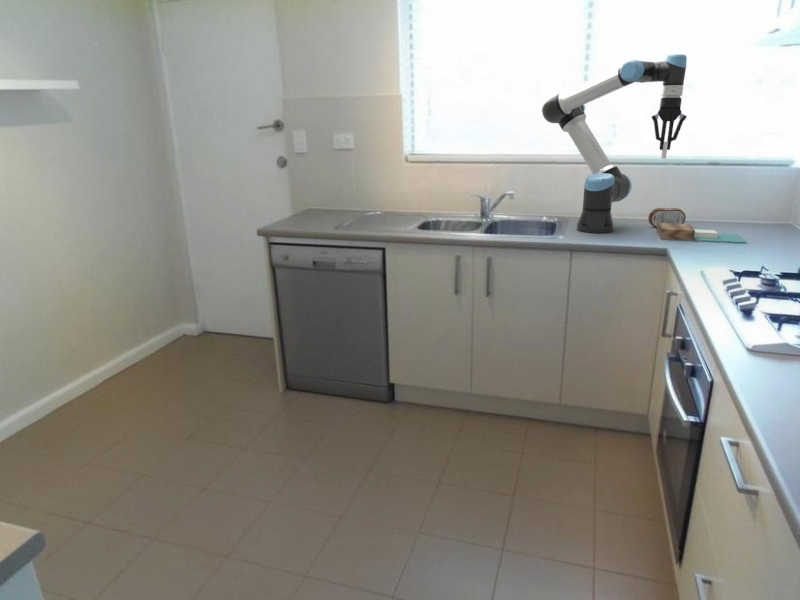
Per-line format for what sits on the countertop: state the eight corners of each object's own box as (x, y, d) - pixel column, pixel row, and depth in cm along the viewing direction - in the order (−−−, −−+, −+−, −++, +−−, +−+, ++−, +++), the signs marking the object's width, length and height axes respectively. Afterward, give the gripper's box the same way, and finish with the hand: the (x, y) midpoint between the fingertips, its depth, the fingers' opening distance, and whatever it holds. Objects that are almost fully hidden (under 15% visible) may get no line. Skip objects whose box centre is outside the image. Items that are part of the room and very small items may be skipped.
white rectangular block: (692, 237, 230) (693, 232, 229) (689, 234, 235) (690, 229, 235) (717, 238, 227) (718, 233, 227) (714, 235, 233) (715, 230, 232)
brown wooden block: (660, 239, 230) (662, 229, 229) (656, 232, 243) (657, 222, 241) (693, 240, 227) (695, 230, 225) (687, 233, 239) (689, 224, 238)
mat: (695, 241, 226) (695, 239, 225) (688, 233, 240) (688, 231, 240) (746, 243, 220) (747, 242, 220) (736, 235, 235) (737, 233, 235)
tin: (682, 226, 253) (685, 207, 250) (685, 228, 250) (687, 209, 247) (647, 226, 254) (649, 207, 252) (649, 228, 251) (651, 208, 249)
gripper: (654, 97, 225) (647, 158, 233) (691, 96, 221) (682, 159, 229) (652, 97, 232) (645, 157, 239) (688, 96, 228) (679, 157, 236)
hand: (663, 158), depth 234 cm, fingers closed
